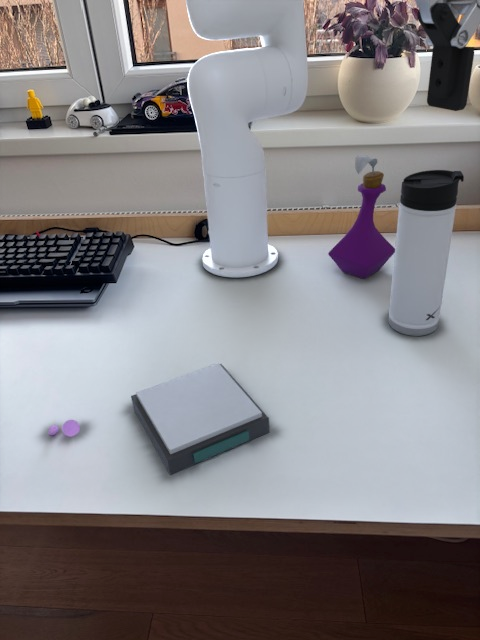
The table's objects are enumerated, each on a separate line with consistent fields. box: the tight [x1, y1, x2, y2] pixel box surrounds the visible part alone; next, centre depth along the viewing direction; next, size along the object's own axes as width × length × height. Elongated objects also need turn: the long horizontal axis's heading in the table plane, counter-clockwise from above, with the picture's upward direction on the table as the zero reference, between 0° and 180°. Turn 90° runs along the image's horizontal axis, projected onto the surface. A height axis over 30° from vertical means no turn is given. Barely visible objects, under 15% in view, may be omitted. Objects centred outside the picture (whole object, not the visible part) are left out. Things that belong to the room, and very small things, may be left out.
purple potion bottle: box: [327, 155, 395, 280], centre depth 80 cm, size 8×8×18 cm
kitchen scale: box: [130, 362, 270, 475], centre depth 57 cm, size 11×11×3 cm
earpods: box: [47, 419, 81, 438], centre depth 58 cm, size 3×2×2 cm
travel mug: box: [387, 169, 465, 337], centre depth 66 cm, size 6×7×20 cm
